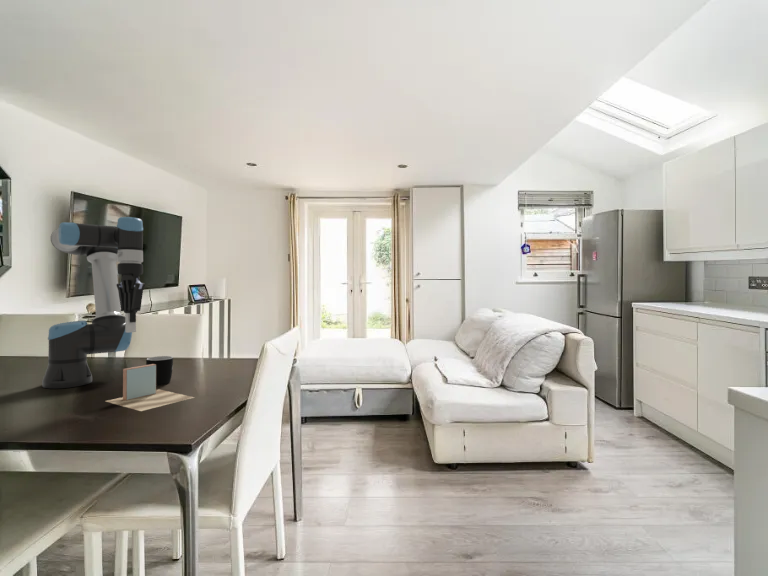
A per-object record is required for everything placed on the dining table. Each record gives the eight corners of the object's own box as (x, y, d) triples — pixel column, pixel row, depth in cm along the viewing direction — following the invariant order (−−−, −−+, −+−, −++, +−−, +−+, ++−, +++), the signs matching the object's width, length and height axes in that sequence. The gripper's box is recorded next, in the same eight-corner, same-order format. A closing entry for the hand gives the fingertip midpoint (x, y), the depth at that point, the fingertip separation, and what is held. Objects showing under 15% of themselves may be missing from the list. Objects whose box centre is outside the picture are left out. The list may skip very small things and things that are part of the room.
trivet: (104, 403, 136) (104, 401, 136) (158, 391, 152) (158, 389, 152) (140, 413, 126) (140, 411, 126) (194, 399, 142) (194, 397, 142)
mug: (176, 384, 161) (176, 358, 161) (151, 389, 155) (151, 361, 155) (164, 379, 170) (164, 354, 170) (139, 383, 163) (140, 356, 163)
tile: (122, 399, 138) (123, 368, 138) (152, 392, 147) (153, 364, 147) (126, 400, 137) (126, 369, 137) (156, 393, 146) (156, 364, 146)
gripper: (108, 263, 146) (108, 332, 146) (130, 261, 139) (130, 333, 139) (130, 264, 152) (130, 330, 152) (152, 262, 146) (152, 331, 146)
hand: (130, 332), depth 146 cm, fingers closed
